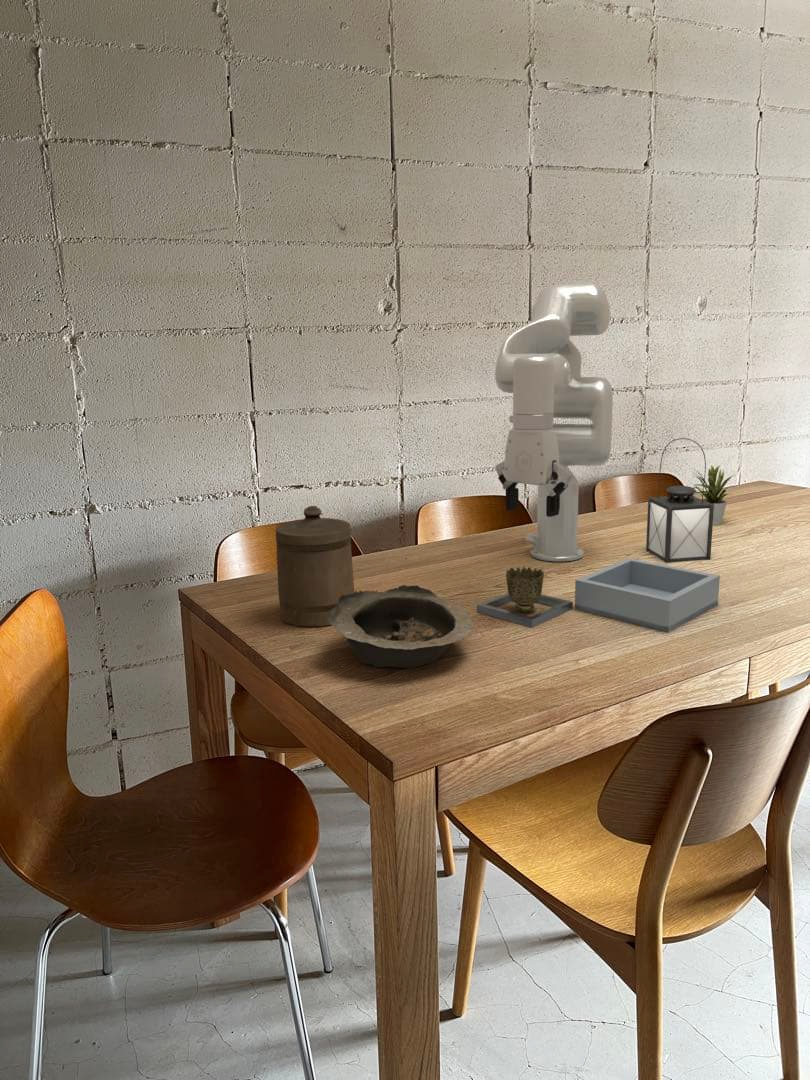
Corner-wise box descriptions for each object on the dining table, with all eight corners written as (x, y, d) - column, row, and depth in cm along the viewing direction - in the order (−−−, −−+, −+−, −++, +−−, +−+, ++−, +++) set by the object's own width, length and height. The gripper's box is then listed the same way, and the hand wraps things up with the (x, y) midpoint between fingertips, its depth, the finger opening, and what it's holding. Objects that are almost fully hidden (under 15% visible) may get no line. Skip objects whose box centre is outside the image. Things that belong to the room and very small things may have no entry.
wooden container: (349, 599, 177) (344, 496, 171) (360, 623, 163) (355, 511, 157) (277, 606, 174) (270, 502, 168) (283, 631, 160) (275, 518, 154)
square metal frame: (476, 611, 167) (476, 604, 166) (518, 595, 176) (518, 588, 175) (532, 627, 157) (532, 619, 157) (572, 609, 167) (572, 601, 166)
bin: (574, 608, 167) (575, 579, 165) (627, 585, 180) (628, 558, 179) (668, 632, 153) (670, 601, 151) (717, 604, 167) (719, 575, 165)
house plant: (677, 516, 239) (680, 459, 235) (728, 516, 237) (732, 458, 233) (686, 528, 226) (690, 468, 222) (740, 528, 224) (745, 467, 220)
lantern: (711, 560, 197) (719, 440, 190) (665, 563, 195) (672, 442, 188) (688, 548, 208) (695, 434, 201) (645, 550, 206) (650, 436, 199)
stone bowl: (342, 626, 161) (343, 579, 158) (473, 637, 158) (476, 590, 156) (315, 677, 137) (316, 623, 134) (469, 691, 135) (473, 636, 132)
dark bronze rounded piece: (542, 617, 162) (543, 578, 160) (504, 616, 164) (504, 576, 162) (544, 605, 169) (544, 566, 167) (507, 603, 171) (507, 565, 169)
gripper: (484, 422, 162) (484, 509, 166) (559, 427, 150) (557, 521, 154) (509, 419, 167) (508, 504, 171) (583, 423, 155) (581, 515, 159)
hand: (531, 512), depth 162 cm, fingers open, 9 cm apart
